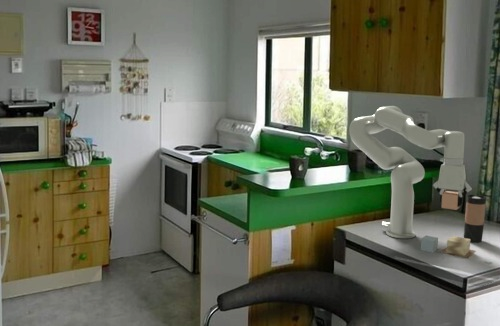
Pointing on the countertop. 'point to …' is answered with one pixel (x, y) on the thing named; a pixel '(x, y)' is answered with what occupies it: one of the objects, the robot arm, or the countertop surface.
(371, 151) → the robot arm
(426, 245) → the slate block
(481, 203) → the travel mug
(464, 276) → the countertop surface
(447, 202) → the terracotta block
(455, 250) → the beech base block
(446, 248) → the walnut board
